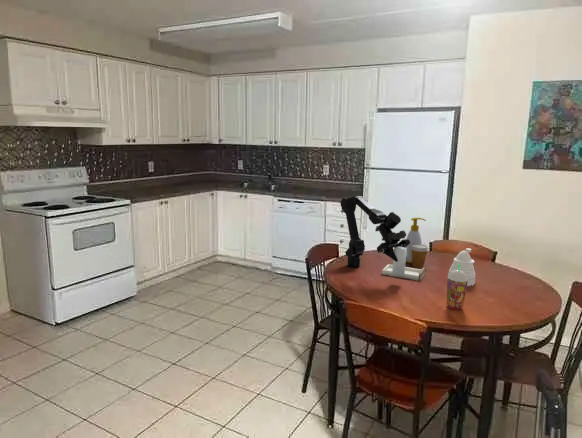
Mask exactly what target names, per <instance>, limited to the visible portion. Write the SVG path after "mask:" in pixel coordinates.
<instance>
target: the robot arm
mask: <svg viewBox="0 0 582 438" xmlns="http://www.w3.org/2000/svg"><path fill="white" fill-rule="evenodd" d="M339 204H340V207H341V210H342V212H343V213H344V215H345V217H346V222H347V227H348V232H349V238H350V239H349V242H348V249H346V250H345V252H344V253H345V256H346V257H347V265H346V267H348V268H353V269H354V268H355V269H358V268H359V267H360V266H361V265H362V264H361V262H362V261H361V260H362V258H361V256H363V254H364V252H365V250H366V249H365V247H366V246H365V240H364V239H361V238H360V235H359V228H358V224H357V220H356V214H355V212H356V209H357V207H359V208H360V209H361V210H362V211H363V212H364V213H365V214H366V215H367V216H368V219H369V222H371V223H372V224H373V225H376V227H375V230H374V231H375V232H379V234H380V235H381V241H382V243H380V244H379V245H378V246H377V247H376V251H377V253H378V254H381V253H382V254H383V255H385V256H387V257H389V258H390V259H391V260H394V261H396V262H397V261H398V260H397V257H396V255H395V253H394V247H404V248H406V247H407V246H408V245H409V244H410V241H409V239H407V238H406V237H407V232H406V231H405V230H400V231H399V232H396V231H393V230H394V229H395V228H396V227H397V226H398V225H399V224H400V223H401V221H402V218H401V217H400V216H399V215H398V214H396V213H395V212H394V211H392V212H389V213H388V215H386V213H384V212H383V211H381V210H378V209H376V208H375V207H374V206H372V205H371V204H370V203H369V202H368V201H367V200H366V199H365V198H364V197H363V196H362V195H354V196H352V197H343V198H342V199H341V200H340V203H339ZM383 241H384V242H383ZM406 259H407V256H406Z"/></svg>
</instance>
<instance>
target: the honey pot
mask: <svg viewBox="0 0 582 438" xmlns="http://www.w3.org/2000/svg"><path fill="white" fill-rule="evenodd" d="M471 252H472V248H465V250H462V251H460V252H459V253H458V254H457V255H456V256H455V257H454V258H453V262H452V264H451V266H450V268H449V270H448V275H449V274H450V273H451V272H452V271H453V270H458V264H460V270H462V271H463V272H465V274H466V275H467V278H468V283H467V287H472V286H475V282H476V272H475V267H474V264H475V260H474V259H472V257H471V255H470V254H469V253H471ZM471 285H472V286H471Z"/></svg>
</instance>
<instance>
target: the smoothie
mask: <svg viewBox="0 0 582 438" xmlns="http://www.w3.org/2000/svg"><path fill="white" fill-rule="evenodd" d="M446 280H447V283H446V287H447V288H446V305H447V308H449V309H450V310H453V311H460V310H462V308H463V307H464V303H465V298H466V292H467V287H468V286H467V283H468V278H467V275H466V274H465V272H463V271H462V270H460V264H458V270H453V271H452V272H451V273H450V274H449V273H448V274H447V279H446Z"/></svg>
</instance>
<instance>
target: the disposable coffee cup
mask: <svg viewBox="0 0 582 438" xmlns="http://www.w3.org/2000/svg"><path fill="white" fill-rule="evenodd" d="M411 249H412V263H411V264H412V268H416V269H422V268H423V267H424V266H425V262H426V257H427V254H428V250H429V246H428V245H426V244H422V243H421V244H413V245H412V247H411Z"/></svg>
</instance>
